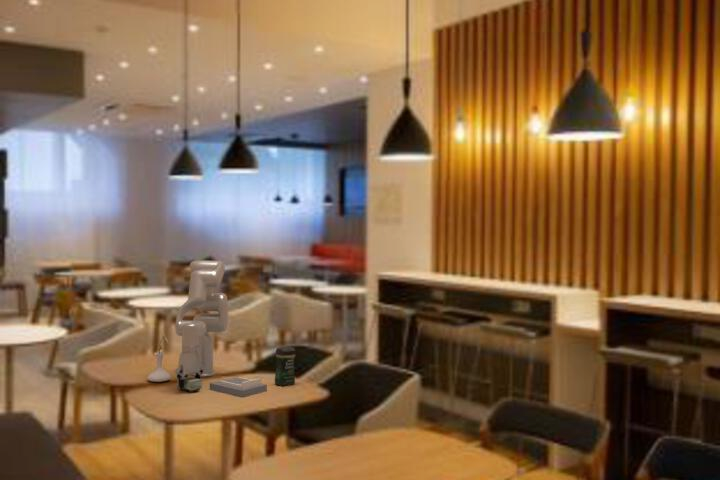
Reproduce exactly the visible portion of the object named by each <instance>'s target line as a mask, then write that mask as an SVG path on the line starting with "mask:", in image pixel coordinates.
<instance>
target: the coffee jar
mask: <svg viewBox="0 0 720 480" xmlns="http://www.w3.org/2000/svg"><path fill="white" fill-rule="evenodd" d="M275 357H276V364H275V366H276V368H275V373H274V384H275V385H277V386H281V387H283V386H284V387H285V386H292V385H294V384H295V381H296V379H295V377H296V376H295V357H296V348H295V347H293V346H282V347H277V348H276V351H275Z"/></svg>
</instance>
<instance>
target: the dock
mask: <svg viewBox="0 0 720 480" xmlns="http://www.w3.org/2000/svg"><path fill="white" fill-rule="evenodd" d="M209 390H211V391H214V392H219V393H223V394H227V395H232V396H236V397H241V398H245V397H249V396H252V395H253V396H254V395H257V394H261V393H264V392H267V391H268V384H265V383H262V378H255V379H249V378H246V377H241V376H236V377H232V378H228V379H227V378H226V379H222V380H217V381H213V382H210V383H209Z"/></svg>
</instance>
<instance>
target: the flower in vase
mask: <svg viewBox="0 0 720 480" xmlns="http://www.w3.org/2000/svg"><path fill="white" fill-rule="evenodd" d="M160 333H161V335H162V338H161V340H160V342H159V345H158V349H157V351H158V352H154V355H155V357H156V367H155V369H154V370H153V371H152V372H151V373H149V374H148V375H147V380H148V381H150V382H153V383H154V382H156V383H160V382H161V383H162V382H166V381H168V380H169V381H170V380H171V378H172V376H171V374H170V373H169V372H168V371H166V370H164V368H163V365H162V363H163V357H164V355H165V354H166V353H165V352H161V351H160V350H162V349H163V347H162V345H161V343H162V341H163V340H165V341H166V343H167V344H170V341H169V339H168V338H167V335H166V334H165V333H164V330H162V329H161V330H160Z"/></svg>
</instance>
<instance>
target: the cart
mask: <svg viewBox="0 0 720 480" xmlns="http://www.w3.org/2000/svg"><path fill="white" fill-rule="evenodd" d="M183 379H184V388H180V387H178V381H179V379H178V378H177V385H176V386H177V388H178V390H179V391H183V390H188V392H189V393H193V392H194V391H196V392H199V391H200V389H202V384H203V383H202V380H203V379H201V378H200V379H196V378H195V377H191V376H189V374H188V375H185V376H184V378H183Z"/></svg>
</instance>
